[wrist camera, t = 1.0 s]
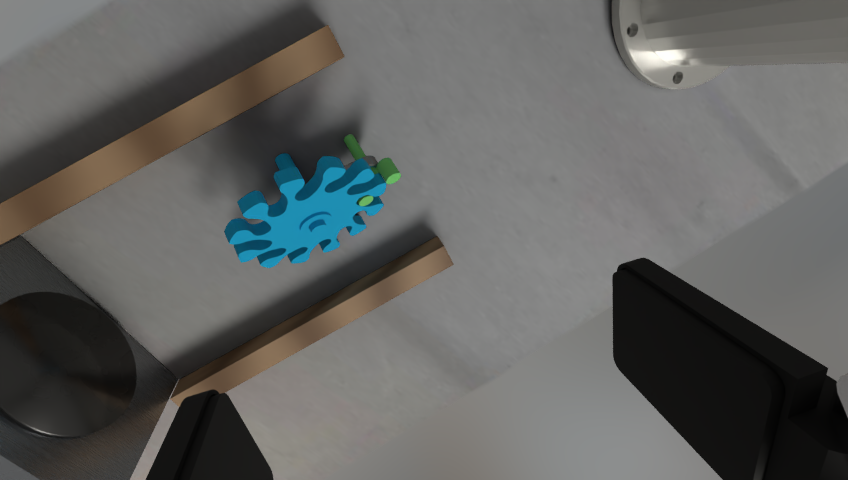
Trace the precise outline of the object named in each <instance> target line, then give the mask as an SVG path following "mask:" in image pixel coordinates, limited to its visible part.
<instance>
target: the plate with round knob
mask: <svg viewBox="0 0 848 480" xmlns="http://www.w3.org/2000/svg"><path fill="white" fill-rule="evenodd" d="M177 381H178V379H177V378H176V377H175V376H174V375H173V374H172V373H171V372H170V371H169V370H168V369H166V368H165V367H164V366H163V365H162V364H161V363H160V362H159V361H158V360H157V359H155V358H154V357H153V356H152V355H151V354H150V353H149V352H148V351H147V350H146V349H144V348H143V347H142V346H141V345H140V344H139V343H138V342H137V341H136V340H135V339H134V338H132V337H131V336H130V335H129V334H128V333H127V332H126V331H125V330H124V329H123V328H121V327H120V326H119V325H118V324H117V323H116V322H115V321H114V320H113V319H112V318H110V317H109V316H108V315H107V314H106V313H105V312H104V311H103V310H102V309H101V308H99V307H98V306H97V305H96V304H95V303H94V302H93V301H92V300H91V299H90V298H88V297H87V296H86V295H85V294H84V293H83V292H82V291H81V290H80V289H79V288H77V287H76V286H75V285H74V284H73V283H72V282H71V281H70V280H69V279H68V278H66V277H65V276H64V275H63V274H62V273H61V272H60V271H59V270H58V269H57V268H56V267H54V266H53V265H52V264H51V263H50V262H49V261H48V260H47V259H46V258H45V257H43V256H42V255H41V254H40V253H39V252H38V251H37V250H36V249H35V248H34V247H32V246H31V245H30V244H29V243H28V242H27V241H26V240H25V239H24V238H23V237H21V236H20V237H18V238H16V239H15V240H13V241H11V242H9V243H7V244H5V245H3V246H1V247H0V480H130V478H131V476H132V474H133V472H134V470H135V468H136V465H137V463H138V461H139V459H140V457H141V455H142V453H143V451H144V449H145V447H146V445H147V443H148V441H149V439H150V437H151V434H152V432H153V430H154V428H155V426H156V424H157V422H158V420H159V418H160V416H161V414H162V412H163V410H164V408H165V406H166V404H167V401H168V399H169V397H170V395H171V393H172V391H173V389H174V387H175V385H176V383H177Z"/></svg>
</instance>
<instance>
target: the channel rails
mask: <svg viewBox="0 0 848 480" xmlns="http://www.w3.org/2000/svg"><path fill="white" fill-rule="evenodd" d="M343 57H344V54H343V52H342V51H341V49H340V47H339V45H338V43H337V41H336V39H335V37H334V35H333V33H332V32H331V30H330V28H329V26H328V25H327V26H325V27H323V28H321V29H320V30H318V31H316V32H314V33H312V34H310V35H309V36H307V37H305V38H303V39H301V40H299V41H298V42H296V43H294V44H292V45H290V46H288V47H287V48H285V49H283V50H281V51H279V52H277V53H276V54H274V55H272V56H270V57H268V58H266V59H265V60H263V61H261V62H259V63H257V64H255V65H254V66H252V67H250V68H248V69H246V70H244V71H243V72H241V73H239V74H237V75H235V76H233V77H232V78H230V79H228V80H226V81H224V82H222V83H221V84H219V85H217V86H215V87H213V88H211V89H210V90H208V91H206V92H204V93H202V94H200V95H199V96H197V97H195V98H193V99H191V100H189V101H188V102H186V103H184V104H182V105H180V106H178V107H177V108H175V109H173V110H171V111H169V112H167V113H166V114H164V115H162V116H160V117H158V118H156V119H155V120H153V121H151V122H149V123H147V124H145V125H144V126H142V127H140V128H138V129H136V130H134V131H133V132H131V133H129V134H127V135H125V136H123V137H122V138H120V139H118V140H116V141H114V142H112V143H111V144H109V145H107V146H105V147H103V148H101V149H100V150H98V151H96V152H94V153H92V154H90V155H89V156H87V157H85V158H83V159H81V160H80V161H78V162H76V163H74V164H72V165H70V166H69V167H67V168H65V169H63V170H61V171H59V172H58V173H56V174H54V175H52V176H50V177H48V178H47V179H45V180H43V181H41V182H39V183H37V184H36V185H34V186H32V187H30V188H28V189H26V190H25V191H23V192H21V193H19V194H17V195H15V196H14V197H12V198H10V199H8V200H6V201H4V202H3V203H1V204H0V245H1V244H3V243H5V242H7V241H9V240H11V239H13V238H15V237H16V236H18V235H20V234H22V233H24V232H26V231H28V230H29V229H31V228H33V227H35V226H37V225H38V224H40V223H42V222H44V221H46V220H48V219H49V218H51V217H53V216H55V215H57V214H59V213H60V212H62V211H64V210H66V209H68V208H70V207H71V206H73V205H75V204H77V203H79V202H81V201H82V200H84V199H86V198H88V197H90V196H91V195H93V194H95V193H97V192H99V191H101V190H102V189H104V188H106V187H108V186H110V185H112V184H113V183H115V182H117V181H119V180H121V179H123V178H124V177H126V176H128V175H130V174H132V173H133V172H135V171H137V170H139V169H141V168H143V167H144V166H146V165H148V164H150V163H152V162H154V161H155V160H157V159H159V158H161V157H163V156H165V155H166V154H168V153H170V152H172V151H174V150H175V149H177V148H179V147H181V146H183V145H185V144H186V143H188V142H190V141H192V140H194V139H196V138H197V137H199V136H201V135H203V134H205V133H207V132H208V131H210V130H212V129H214V128H216V127H217V126H219V125H221V124H223V123H225V122H227V121H228V120H230V119H232V118H234V117H236V116H238V115H239V114H241V113H243V112H245V111H247V110H249V109H250V108H252V107H254V106H256V105H258V104H259V103H261V102H263V101H265V100H267V99H269V98H270V97H272V96H274V95H276V94H278V93H280V92H281V91H283V90H285V89H287V88H289V87H291V86H292V85H294V84H296V83H298V82H300V81H302V80H303V79H305V78H307V77H309V76H311V75H312V74H314V73H316V72H318V71H320V70H322V69H323V68H325V67H327V66H329V65H331V64H333V63H334V62H336V61H338V60H340V59H342V58H343ZM452 265H454V264H453V262H452V260H451V258H450V256H449V255H448V253H447V251H446V249H445V247H444V245H443V244H442V242H441V241H440V240H439V238H438V237H435V238H433V239H431V240H429V241H428V242H426V243H424V244H422V245H420V246H419V247H417V248H415V249H413V250H411V251H410V252H408V253H406V254H404V255H402V256H401V257H399V258H397V259H395V260H394V261H392V262H390V263H388V264H386V265H385V266H383V267H381V268H379V269H377V270H376V271H374V272H372V273H370V274H368V275H367V276H365V277H363V278H361V279H359V280H358V281H356V282H354V283H352V284H350V285H349V286H347V287H345V288H343V289H342V290H340V291H338V292H336V293H334V294H333V295H331V296H329V297H327V298H325V299H324V300H322V301H320V302H318V303H316V304H315V305H313V306H311V307H309V308H307V309H306V310H304V311H302V312H300V313H298V314H297V315H295V316H293V317H291V318H290V319H288V320H286V321H284V322H282V323H281V324H279V325H277V326H275V327H273V328H272V329H270V330H268V331H266V332H264V333H263V334H261V335H259V336H257V337H255V338H254V339H252V340H250V341H248V342H246V343H245V344H243V345H241V346H239V347H238V348H236V349H234V350H232V351H230V352H229V353H227V354H225V355H223V356H221V357H220V358H218V359H216V360H214V361H212V362H211V363H209V364H207V365H205V366H203V367H202V368H200V369H198V370H196V371H195V372H193V373H191V374H189V375H187V376H186V377H184V378H182V379H180V380H179V381H178V384H177V386H176V388H175V390H174V392H173V394H172V396H171V398H170V399H171V400H172V401H173V402H174V403H175V404H177V405H178V406H179V407H180V405H181V403H182V401H183V400H184V399H185V398H186V397H188V396H192V395H195V394H198V393H201V392H205V391H208V390H211V389H215V390H216V391H218V392H219V394H221V393H225V392H227V391H228V390H230V389H232V388H234V387H236V386H237V385H239V384H241V383H243V382H245V381H246V380H248V379H250V378H252V377H253V376H255V375H257V374H259V373H261V372H262V371H264V370H266V369H268V368H270V367H271V366H273V365H275V364H277V363H279V362H280V361H282V360H284V359H286V358H287V357H289V356H291V355H293V354H295V353H296V352H298V351H300V350H302V349H304V348H305V347H307V346H309V345H311V344H312V343H314V342H316V341H318V340H320V339H321V338H323V337H325V336H327V335H329V334H330V333H332V332H334V331H336V330H338V329H339V328H341V327H343V326H345V325H346V324H348V323H350V322H352V321H354V320H355V319H357V318H359V317H361V316H363V315H364V314H366V313H368V312H370V311H371V310H373V309H375V308H377V307H379V306H380V305H382V304H384V303H386V302H388V301H389V300H391V299H393V298H395V297H396V296H398V295H400V294H402V293H404V292H405V291H407V290H409V289H411V288H413V287H414V286H416V285H418V284H420V283H422V282H423V281H425V280H427V279H429V278H430V277H432V276H434V275H436V274H438V273H439V272H441V271H443V270H445V269H447V268H448V267H450V266H452Z"/></svg>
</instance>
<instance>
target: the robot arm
mask: <svg viewBox="0 0 848 480" xmlns="http://www.w3.org/2000/svg"><path fill="white" fill-rule="evenodd" d="M612 26H613V32H614V38H615V42H616V45H617V47H618V50H619V53H620V56H621V57H622V59H623V61H624V62H625V64H626V65H627V67H628V69H629V70H630V71H631V72H632V73H633V74H634V75H635V76H636V77H637V78H638V79H640V80H642V81H643V82H645V83H647V84H649V85H651V86H655V87H658V88H662V89H685V88H692V87H695V86H698V85H701V84H704V83H706V82H707V81H709V80H711V79H713V78H715V77H716V76H718V75H719V74H721V73H722V72H723V71H724V70H726V69H727V68H728V67H729V66H743V65H784V64H826V63H848V0H612ZM613 357H614V361H615V363H616V366H617V367H618V369H619V370H620V371H621V372H622V373H623V374H624V376H625V377H626V378H627V379H628V380H629V381H630V382H631V383H632V384H633V385H634V386H635V387H636V388H637V389H638V390H639V391H640V393H642V395H643V396H644V397H645V398H646V399H647V400H648V401H649V402H650V403H651V404H652V405H653V406H654V407H655V408H656V409H657V411H658V412H659V413H660V414H661V415H662V416H663V417H664V418H665V419H666V420H667V421H668V422H669V423H670V424H671V425H672V426H673V427H674V429H676V431H677V432H678V433H679V434H680V435H681V436H682V437H683V438H684V439H685V440H686V441H687V442H688V443H689V444H690V445H691V446H692V448H693V449H694V450H695V451H696V452H697V453H698V454H699V455H700V456H701V457H702V458H703V459H704V460H705V461H706V462H707V463H708V464H709V466H711V468H712V469H713V470H714V471H715V472H716V473H717V474H718V475H719V476H720V477H721V478H722V479H723V480H848V373H847V374H845V375H843V376H841V377H840V379H839V380H838V382H836V381H835V380H834V379H832V378H830V377H829V376H827V375H826V374H827V370H828V368H827V367H825V366H823V365H822V364H820V363H819V362H817V361H815V360H814V359H812V358H810V357H809V356H807V355H805V354H804V353H802V352H800V351H799V350H797V349H796V348H794V347H792V346H791V345H789V344H787V343H785V342H784V341H782V340H781V339H779V338H777V337H776V336H774V335H772V334H771V333H769V332H767V331H766V330H764V329H762V328H761V327H759V326H758V325H756V324H754V323H753V322H751V321H749V320H747V319H746V318H744V317H743V316H741V315H739V314H738V313H736V312H734V311H733V310H731V309H729V308H728V307H726V306H725V305H723V304H721V303H720V302H718V301H716V300H714V299H713V298H711V297H710V296H708V295H706V294H705V293H703V292H701V291H699V290H698V289H697V288H695V287H693V286H691V285H690V284H688V283H687V282H685V281H683V280H682V279H680V278H678V277H677V276H675V275H673V274H672V273H670V272H668V271H667V270H665V269H664V268H662V267H660V266H659V265H657V264H655V263H654V262H652V261H650V260H649V259H646V258H640V259H636V260H633V261H630V262H626V263H623V264H621V265H619V267H618V269H617V272H615V273H614V274H613ZM146 480H273V474H272V471H271V469H270V467H269V465H268V463H267V462H266V460H265V458H264V456H263V455H262V453H261V451H260V450H259V448H258V446H257V444H256V443H255V441H254V439H253V438H252V436H251V434H250V432H249V431H248V429H247V427H246V426H245V424H244V422H243V420H242V419H241V417H240V415H239V413H238V412H237V410H236V408H235V407H234V405H233V403H232V401H231V400H230V398H229V396H228V395H227V394H225V393H221V394H219V392H218V391H216V390H215V389H211V390H208V391H205V392H201V393H198V394H195V395H192V396H188V397H186V398H185V399H184V400H183V401H182V403H181V405H180V407H179V409H178V411H177V413H176V415H175V418H174V420H173V422H172V424H171V426H170V428H169V431H168V433H167V435H166V437H165V439H164V441H163V444H162V446H161V448H160V450H159V452H158V454H157V456H156V459H155V461H154V463H153V465H152V467H151V469H150V472H149V474H148V476H147V478H146Z"/></svg>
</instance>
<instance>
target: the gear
mask: <svg viewBox="0 0 848 480" xmlns="http://www.w3.org/2000/svg"><path fill="white" fill-rule="evenodd" d="M344 142H345V144H346V145H347V147H348V149H349V150H350V152H351V154H352V155H353V157H354V159H355V160H356V161H354V162H352V163H350V164H348V165H346V166H343V164H342V162H341V161H340V159H339V158H337V157H334V156H323V157H322V158H320V159H319V161H318V162H317V169H316V172H315V174H314V176H313V177H312V178H311V179H310V181H309V182H308V183H306V184H305V181H304V179H303V177H302V176H301V174H300V172H299V170H298V168H297V167H296V166H295V164H294V162H293V160H292V159H291V157H290V155H289V154H287V153H283V154H280V155H278V156H277V157H276V159H275V162H276V164H277V166H278V168H279V170H280V171H278V172H275V174H274V179H275V181H276V183H277V186H278V188H279V190H280V191H281V193H282V194H281V198H280V200H279V201H278V202H277V203H275V204H273V205H269V206H268V204H267V202H266V200H265V198H264V196H263V194H262V193H261V192H260V191H252V192H250V193H249V194H247V195H245V196H244V197H242V198H241V199H240V200H239V201H238V205H239V207H240V209H241V212H242V214H243V216H244V217H246V218H249V219H261V220H264V221H262V222H261V223H258V224H249V223H248V222H247V221H246V220H245V219H241V218H237V219H232V220H231V221H230V222H229V223H228V225H227V226H226V229H225V231H224V232H225V234H226V237H227V239H228V242H229V244H234V248H235V250H236V253H237V255H238V257H239V260H240V261H241V262H247V261H249V260H252V259H253V258H255V257H256V256H257V258H258V260H259V263H260V265H261V266H263V267H267V268H271V267H273V266H275V265H277V264H278V263H279V261H280V260H281V259H282V258H284V257H285V256H286V255H288V257H289V259H290V261H291V263H302V262H305V261H307V260H308V259H309V255H310V252H311V251H312V249H313V248H314V247H315V246H316V245H317V244H320V246H321V248H322V250H323V252H324V253H325V252H329V251H331V250H334V249H336V248H338V247H339V246H340V243H339V241H338V239H337V235H338V233H339V231H340V230H341V229H342V228H344V227H346V228H347V230H348V232H349V233H350V235H352V236H354V235H356V234H358V233H359V232H361V231H362V230H364V229H365V228H366V225H365V223H364V221H363V219H362V218H361V216H355V214H356V213H357V212H359V211H362V210H365V211H366V213H367V215H369V216H372V215H375V214H376V213H378V212H379V211H380V209H381V208H382V207H383V205H384V204H383V203H382V201H381V199H380V198H379V196H380V195H382V194H383V193H384V192H385V189H386V183H387V184H393V183H395V182H397V181H398V180H399V179H400V177H401V174H400V173H399V171H398V169H397V168H396V166H395V165H394V163H393V162H392V160H391V159H390V158H384V159H382V160H381V161H379V163H378V162H377V161H376V159H375V157H373V156H365V154H364V152H363V151H362V149H361V147H360V146H359V144H358V142H357V141H356V139H355V138H354V136H353V135H351V134H350V135H347V136H346V137H345V138H344ZM381 175H382V176H383V177H382V176H381ZM383 178H384V179H383ZM384 180H385V181H386V182H385V181H384Z"/></svg>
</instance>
